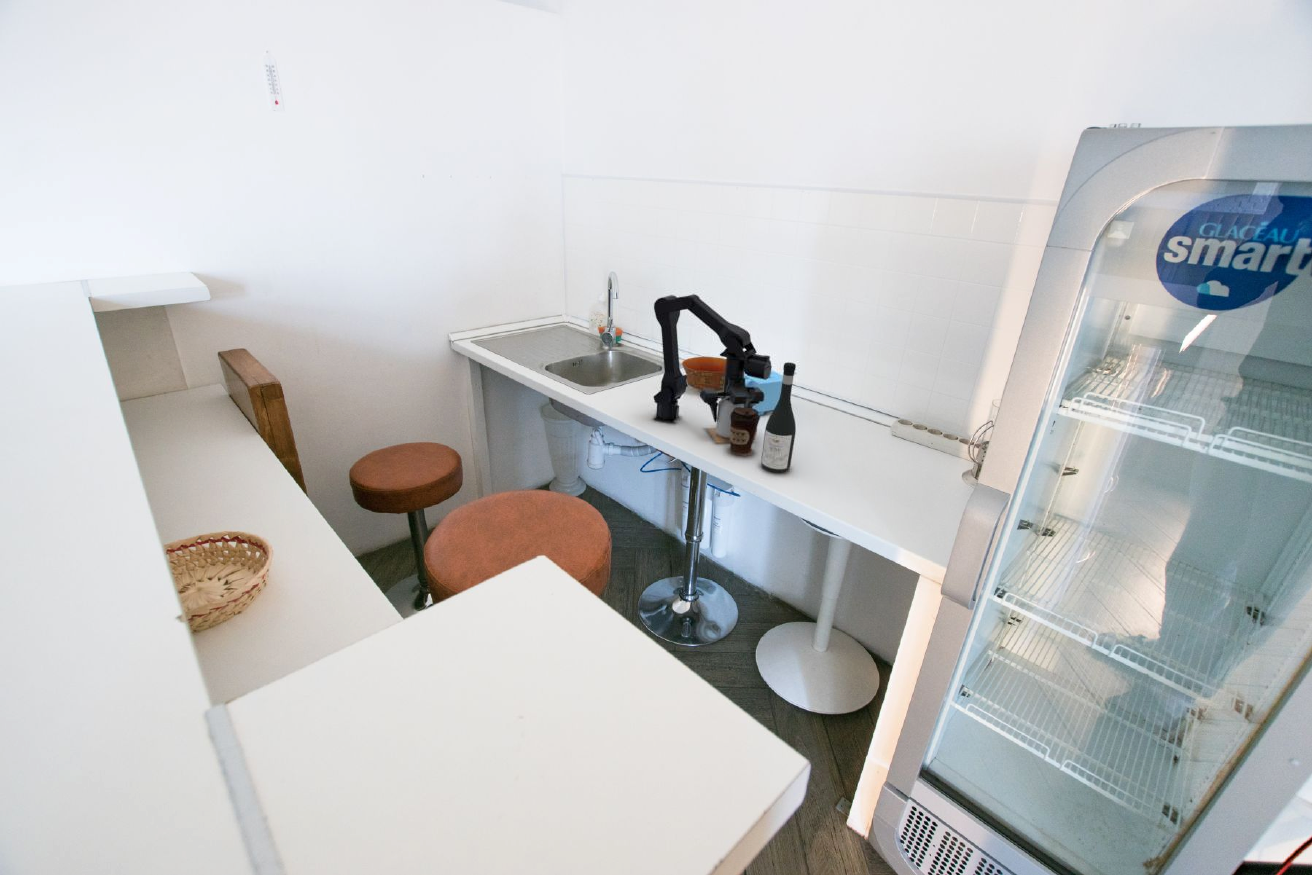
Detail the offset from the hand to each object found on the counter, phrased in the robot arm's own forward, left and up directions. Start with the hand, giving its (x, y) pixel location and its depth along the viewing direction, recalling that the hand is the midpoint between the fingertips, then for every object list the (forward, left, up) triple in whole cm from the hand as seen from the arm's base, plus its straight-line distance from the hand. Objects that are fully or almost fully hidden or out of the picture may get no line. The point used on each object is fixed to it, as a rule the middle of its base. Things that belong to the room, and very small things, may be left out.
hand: (729, 421), depth 177 cm
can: (0, 0, -5) cm, 5 cm away
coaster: (0, 0, -5) cm, 5 cm away
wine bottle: (+17, -16, -5) cm, 24 cm away
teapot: (+7, +29, -5) cm, 30 cm away
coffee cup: (+6, -10, -5) cm, 13 cm away
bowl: (-17, +40, -5) cm, 44 cm away
